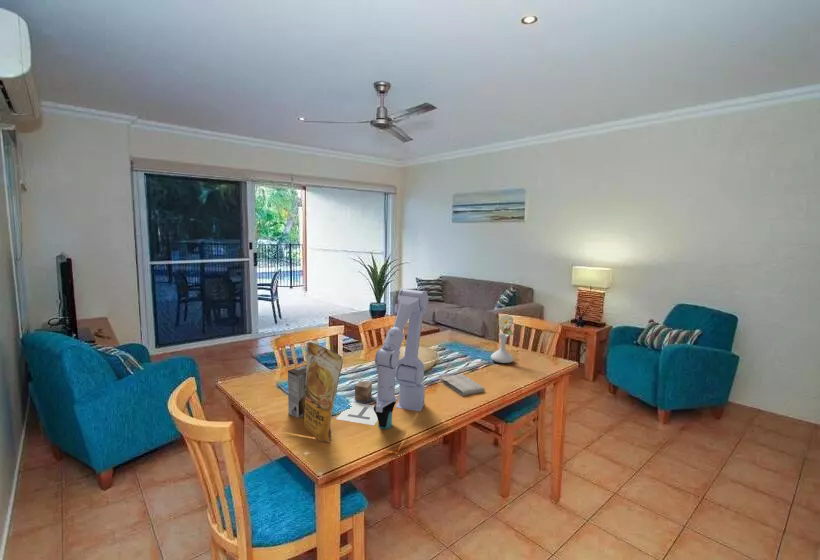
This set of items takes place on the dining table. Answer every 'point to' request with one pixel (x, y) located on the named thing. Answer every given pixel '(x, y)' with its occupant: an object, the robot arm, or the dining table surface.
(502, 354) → the flower in vase
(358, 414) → the letter mat
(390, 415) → the teal rounded cylinder
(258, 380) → the dining table surface
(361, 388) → the walnut block
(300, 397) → the coffee box
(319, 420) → the pancake mix bag
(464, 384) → the washcloth
